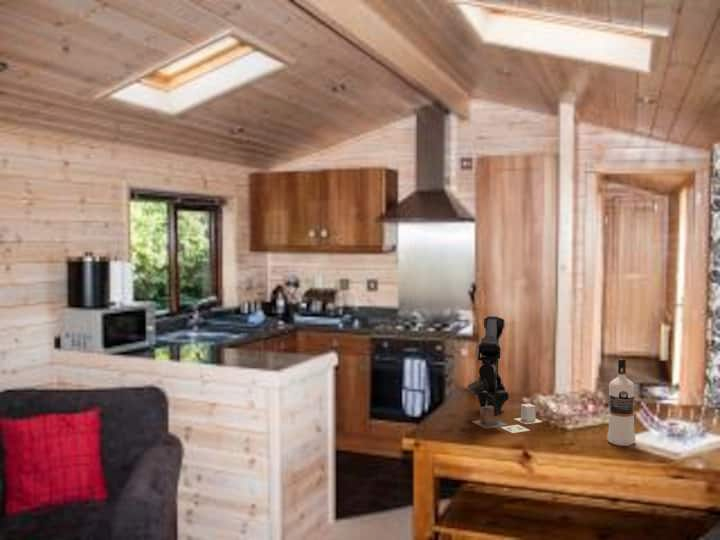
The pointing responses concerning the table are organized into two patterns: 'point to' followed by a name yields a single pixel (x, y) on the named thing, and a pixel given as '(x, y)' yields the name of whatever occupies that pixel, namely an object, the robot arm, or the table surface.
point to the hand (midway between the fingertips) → (489, 413)
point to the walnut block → (488, 415)
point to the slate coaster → (489, 425)
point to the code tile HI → (527, 422)
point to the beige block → (528, 412)
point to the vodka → (621, 408)
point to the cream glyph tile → (515, 428)
